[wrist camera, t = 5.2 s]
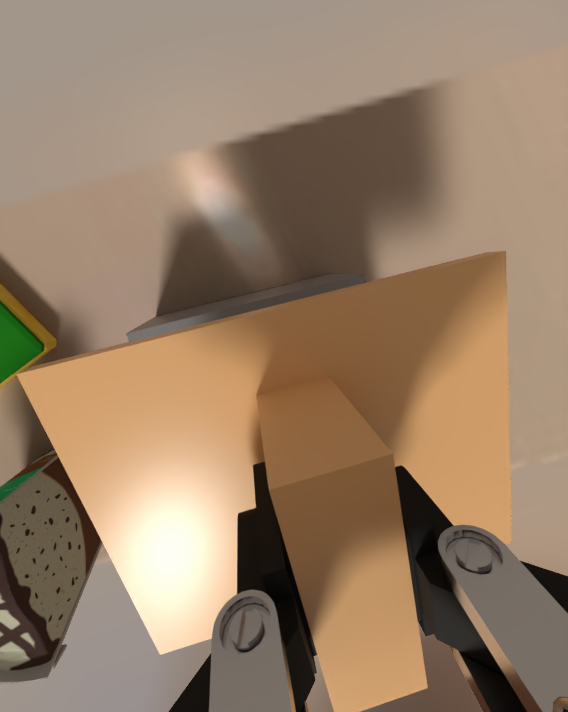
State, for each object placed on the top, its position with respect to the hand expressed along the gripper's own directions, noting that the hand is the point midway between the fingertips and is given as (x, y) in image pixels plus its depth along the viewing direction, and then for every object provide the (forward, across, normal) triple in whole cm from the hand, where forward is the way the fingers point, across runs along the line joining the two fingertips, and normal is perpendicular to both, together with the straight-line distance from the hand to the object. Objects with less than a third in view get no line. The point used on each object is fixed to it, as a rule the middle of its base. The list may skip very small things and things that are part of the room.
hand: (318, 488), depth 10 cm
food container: (+17, +21, +7) cm, 28 cm away
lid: (+3, 0, 0) cm, 3 cm away
